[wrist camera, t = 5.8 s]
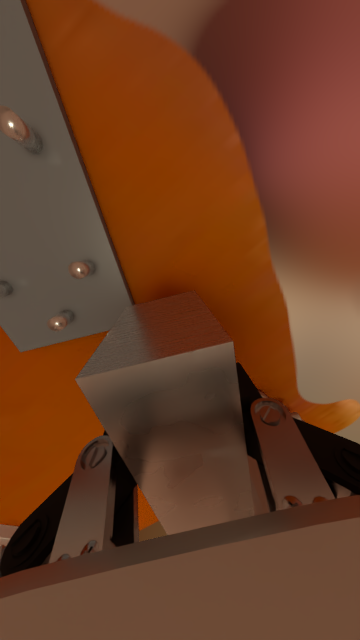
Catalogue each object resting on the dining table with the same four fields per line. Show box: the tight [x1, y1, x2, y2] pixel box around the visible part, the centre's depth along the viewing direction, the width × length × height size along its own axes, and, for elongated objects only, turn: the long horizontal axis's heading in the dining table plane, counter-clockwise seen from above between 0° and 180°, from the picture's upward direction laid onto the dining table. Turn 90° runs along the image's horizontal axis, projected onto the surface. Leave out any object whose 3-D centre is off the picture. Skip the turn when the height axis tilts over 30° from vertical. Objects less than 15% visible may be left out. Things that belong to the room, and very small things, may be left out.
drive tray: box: [0, 0, 134, 352], centre depth 13 cm, size 12×20×1 cm, turn 13°
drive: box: [75, 290, 255, 535], centre depth 9 cm, size 4×10×6 cm, turn 13°
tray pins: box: [0, 105, 95, 332], centre depth 12 cm, size 8×16×2 cm, turn 13°
